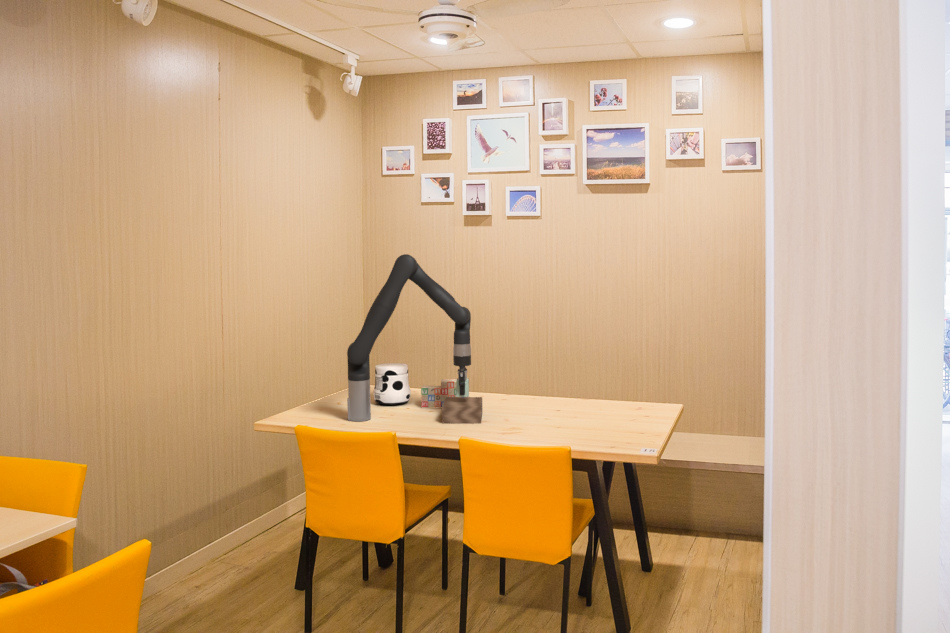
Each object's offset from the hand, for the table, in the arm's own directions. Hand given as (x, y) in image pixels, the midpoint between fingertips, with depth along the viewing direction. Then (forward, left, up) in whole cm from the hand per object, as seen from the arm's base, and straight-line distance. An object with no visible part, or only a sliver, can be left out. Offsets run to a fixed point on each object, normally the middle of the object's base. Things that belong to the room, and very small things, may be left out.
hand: (462, 393), depth 322 cm
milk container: (-35, +31, -11) cm, 48 cm away
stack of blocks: (-10, +24, -11) cm, 28 cm away
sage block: (0, 0, -1) cm, 1 cm away
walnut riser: (0, 0, -11) cm, 11 cm away
